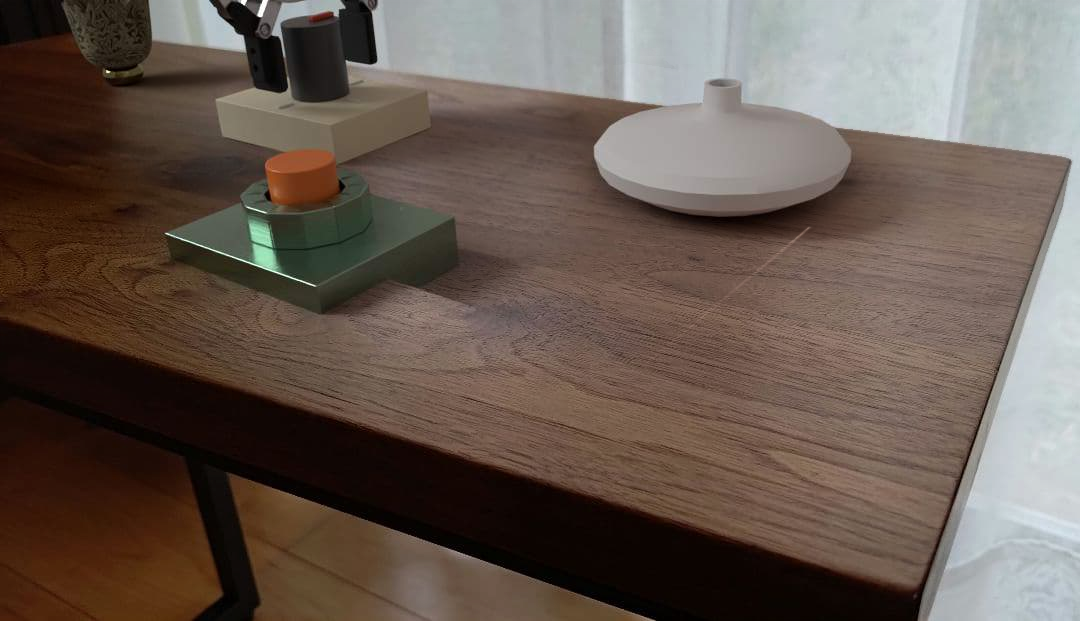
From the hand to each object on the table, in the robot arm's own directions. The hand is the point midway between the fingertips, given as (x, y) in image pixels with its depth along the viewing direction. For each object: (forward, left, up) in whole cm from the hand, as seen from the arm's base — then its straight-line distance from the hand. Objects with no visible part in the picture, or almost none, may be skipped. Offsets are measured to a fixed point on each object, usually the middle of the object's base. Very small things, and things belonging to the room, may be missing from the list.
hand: (318, 74), depth 76 cm
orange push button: (+19, -18, 0) cm, 26 cm away
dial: (0, 0, -1) cm, 1 cm away
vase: (+32, +4, -5) cm, 33 cm away
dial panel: (0, 0, -4) cm, 4 cm away
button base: (+19, -18, -4) cm, 27 cm away
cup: (-29, +1, -5) cm, 29 cm away
